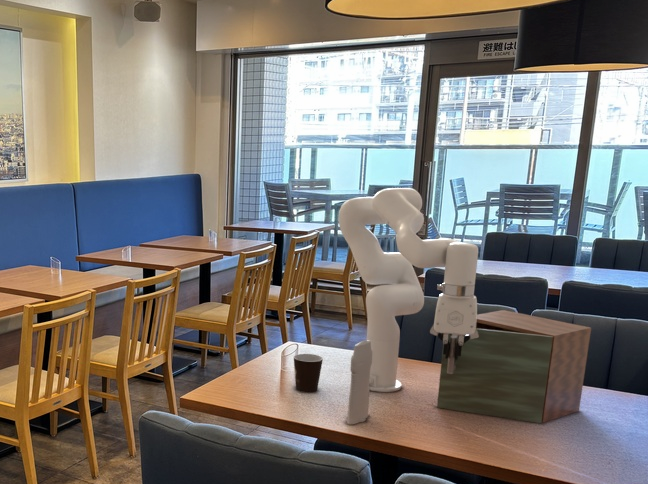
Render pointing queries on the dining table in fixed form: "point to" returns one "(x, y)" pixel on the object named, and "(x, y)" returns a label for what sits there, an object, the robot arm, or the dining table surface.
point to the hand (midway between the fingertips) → (451, 357)
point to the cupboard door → (497, 375)
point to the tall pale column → (360, 382)
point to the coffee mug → (307, 372)
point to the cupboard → (551, 356)
